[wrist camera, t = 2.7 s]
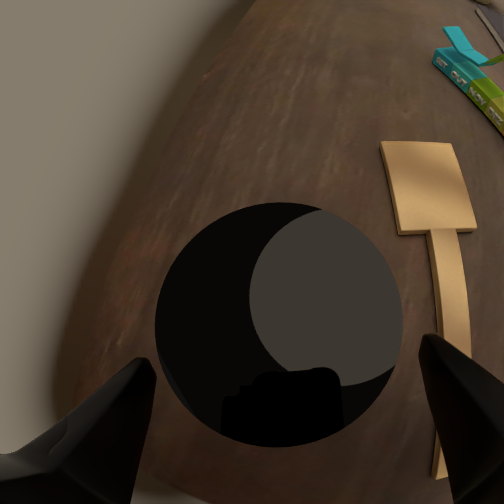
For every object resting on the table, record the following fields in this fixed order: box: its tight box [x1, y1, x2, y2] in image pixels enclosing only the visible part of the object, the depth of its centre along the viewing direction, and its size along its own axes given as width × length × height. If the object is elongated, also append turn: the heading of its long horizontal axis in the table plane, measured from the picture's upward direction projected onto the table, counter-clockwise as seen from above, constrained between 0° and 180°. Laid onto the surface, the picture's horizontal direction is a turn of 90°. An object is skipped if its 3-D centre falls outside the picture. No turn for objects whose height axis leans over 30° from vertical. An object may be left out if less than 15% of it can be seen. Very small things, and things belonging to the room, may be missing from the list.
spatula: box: [380, 141, 477, 480], centre depth 16 cm, size 23×6×1 cm, turn 0°
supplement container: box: [155, 202, 403, 447], centre depth 13 cm, size 7×7×10 cm
